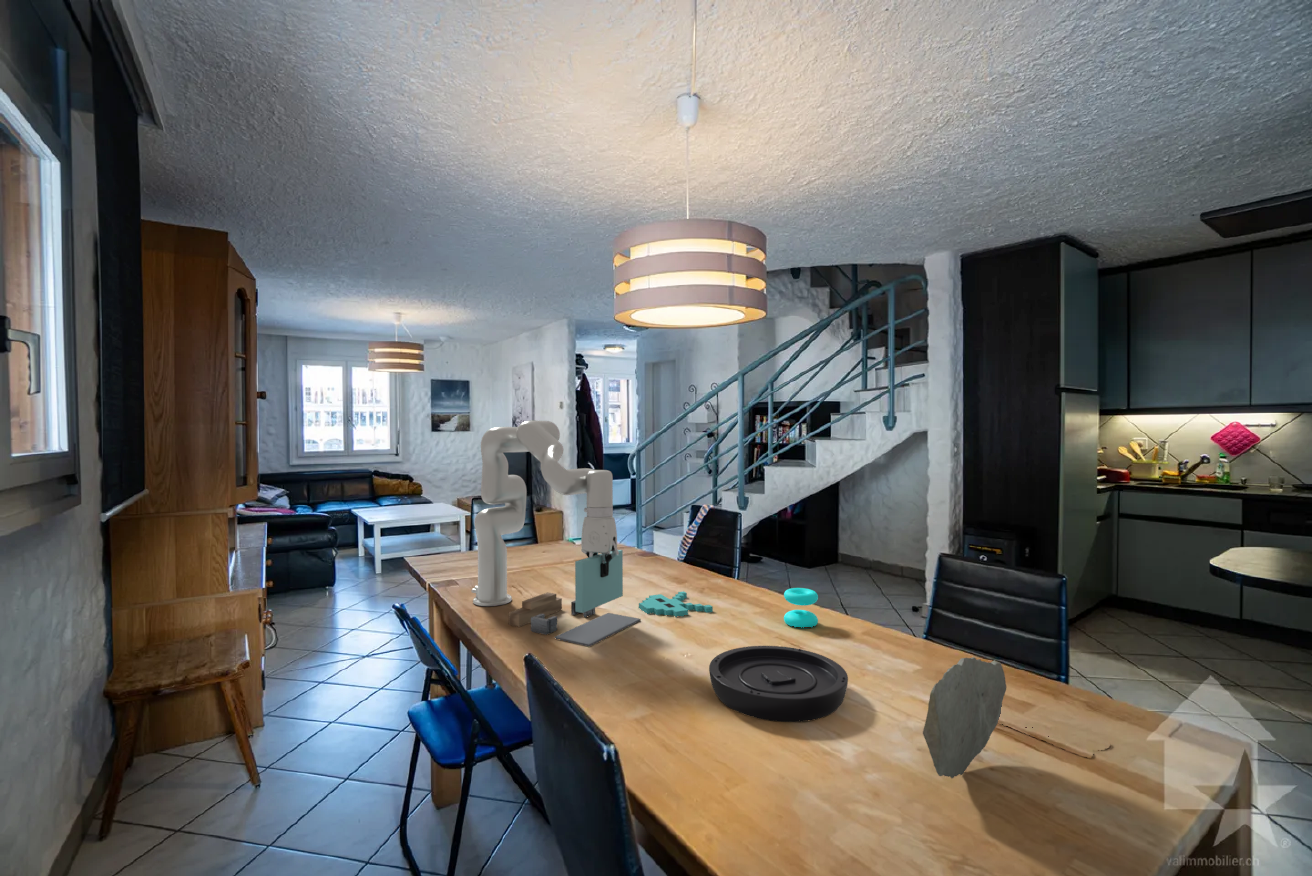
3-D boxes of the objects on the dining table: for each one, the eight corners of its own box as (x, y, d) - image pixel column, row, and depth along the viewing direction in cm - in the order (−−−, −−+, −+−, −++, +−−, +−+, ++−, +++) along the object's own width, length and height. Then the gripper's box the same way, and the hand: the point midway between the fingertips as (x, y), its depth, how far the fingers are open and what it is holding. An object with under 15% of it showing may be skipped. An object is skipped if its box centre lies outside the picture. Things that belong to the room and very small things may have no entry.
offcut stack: (508, 625, 183) (508, 605, 182) (552, 608, 200) (552, 590, 200) (519, 628, 181) (519, 607, 180) (561, 610, 198) (561, 592, 198)
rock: (971, 738, 116) (972, 633, 116) (1008, 750, 111) (1009, 641, 111) (913, 797, 97) (914, 672, 97) (954, 815, 93) (955, 684, 92)
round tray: (797, 661, 155) (688, 677, 145) (797, 638, 155) (688, 652, 144) (878, 713, 127) (749, 738, 116) (878, 684, 127) (749, 706, 116)
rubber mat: (554, 638, 170) (554, 636, 170) (608, 614, 193) (608, 612, 193) (589, 646, 164) (589, 644, 164) (640, 620, 187) (640, 618, 187)
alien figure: (683, 597, 214) (630, 604, 206) (683, 591, 214) (630, 597, 206) (712, 613, 196) (656, 621, 188) (712, 606, 196) (656, 614, 187)
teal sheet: (575, 611, 170) (575, 561, 170) (615, 595, 187) (615, 549, 187) (582, 612, 169) (582, 562, 169) (622, 596, 186) (622, 550, 186)
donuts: (824, 591, 183) (805, 597, 177) (824, 624, 183) (805, 632, 177) (796, 585, 191) (777, 590, 184) (796, 617, 191) (777, 623, 184)
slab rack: (530, 631, 176) (530, 617, 176) (580, 611, 196) (580, 598, 196) (546, 635, 174) (546, 620, 173) (595, 613, 194) (595, 601, 193)
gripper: (569, 512, 179) (570, 575, 179) (615, 516, 171) (615, 581, 171) (585, 509, 185) (585, 570, 185) (630, 512, 177) (630, 576, 177)
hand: (600, 575), depth 178 cm, fingers closed on teal sheet, 2 cm apart
